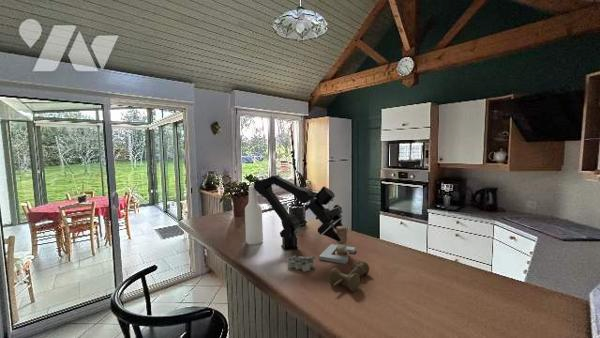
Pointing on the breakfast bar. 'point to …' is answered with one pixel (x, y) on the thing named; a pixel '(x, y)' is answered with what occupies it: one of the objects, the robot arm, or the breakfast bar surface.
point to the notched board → (330, 256)
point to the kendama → (349, 276)
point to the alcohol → (253, 219)
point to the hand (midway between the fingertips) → (343, 237)
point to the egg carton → (297, 262)
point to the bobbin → (342, 241)
